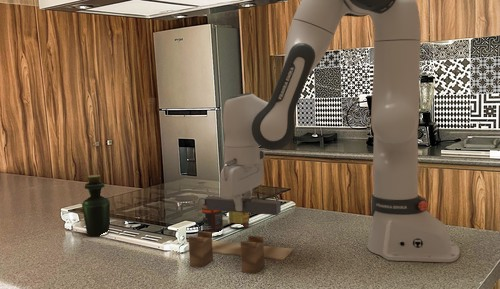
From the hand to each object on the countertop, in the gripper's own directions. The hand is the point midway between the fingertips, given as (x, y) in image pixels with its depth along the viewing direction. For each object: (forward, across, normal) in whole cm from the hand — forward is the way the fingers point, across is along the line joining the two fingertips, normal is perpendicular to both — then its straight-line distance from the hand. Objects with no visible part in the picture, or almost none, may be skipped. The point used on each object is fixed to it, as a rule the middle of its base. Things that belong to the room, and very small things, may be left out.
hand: (243, 208), depth 133 cm
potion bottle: (+12, +2, +50) cm, 51 cm away
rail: (+1, 0, 0) cm, 1 cm away
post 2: (+12, -11, -7) cm, 18 cm away
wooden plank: (+12, 0, 0) cm, 12 cm away
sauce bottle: (+12, +21, +11) cm, 26 cm away
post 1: (+12, -11, +7) cm, 18 cm away
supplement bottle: (+12, +11, +15) cm, 22 cm away
